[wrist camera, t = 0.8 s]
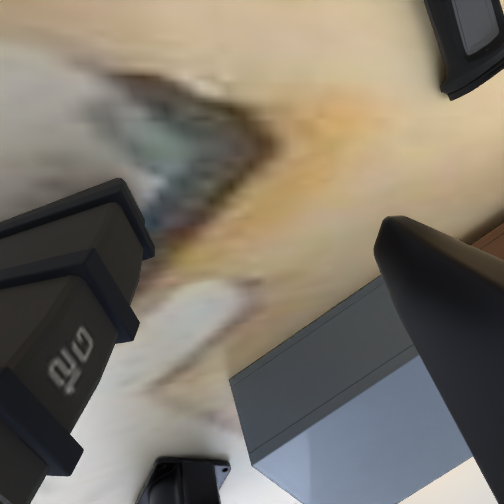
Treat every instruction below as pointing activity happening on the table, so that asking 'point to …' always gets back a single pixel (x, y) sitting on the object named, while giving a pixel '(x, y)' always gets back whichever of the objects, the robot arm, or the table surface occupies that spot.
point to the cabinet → (348, 409)
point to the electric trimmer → (468, 41)
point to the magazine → (61, 324)
